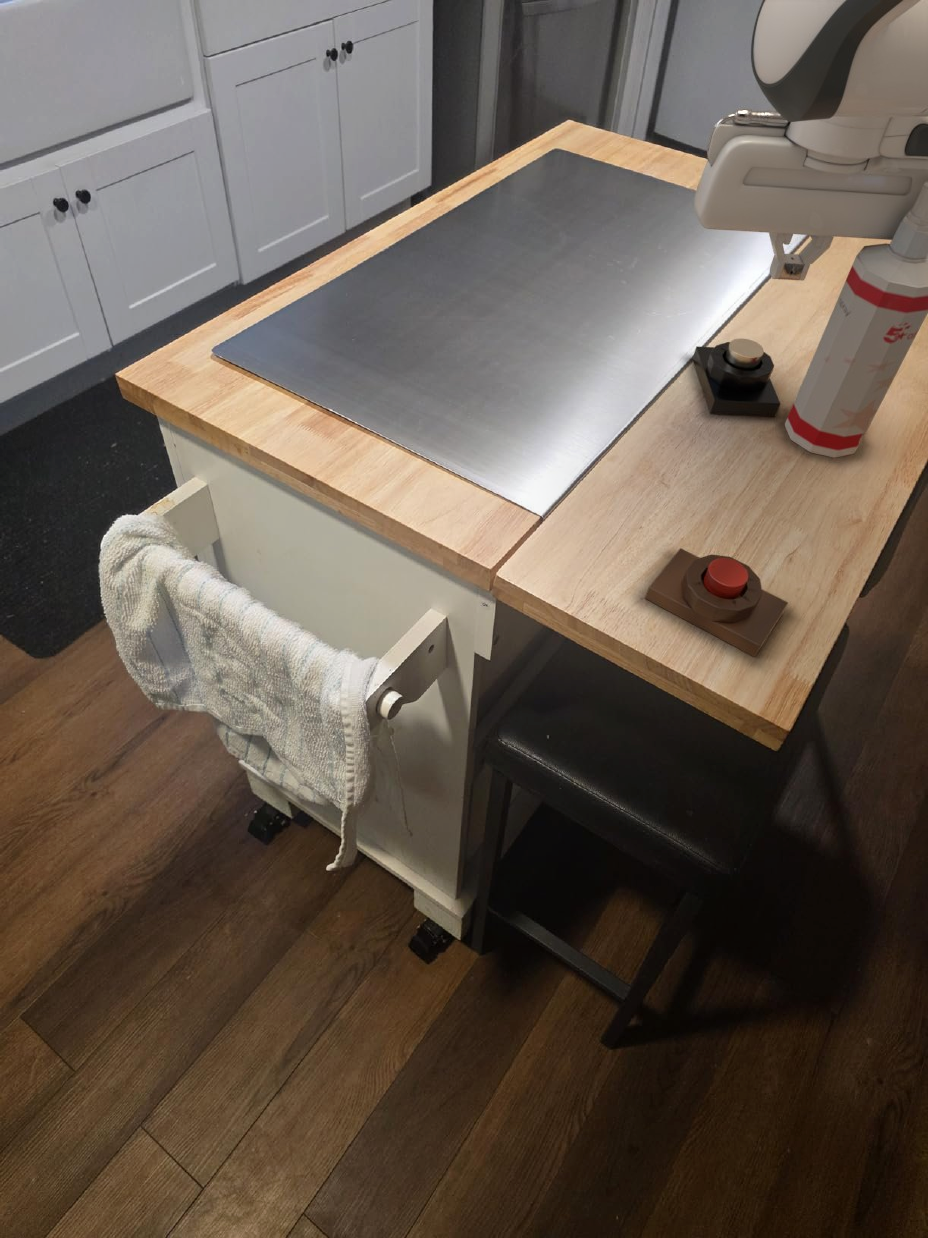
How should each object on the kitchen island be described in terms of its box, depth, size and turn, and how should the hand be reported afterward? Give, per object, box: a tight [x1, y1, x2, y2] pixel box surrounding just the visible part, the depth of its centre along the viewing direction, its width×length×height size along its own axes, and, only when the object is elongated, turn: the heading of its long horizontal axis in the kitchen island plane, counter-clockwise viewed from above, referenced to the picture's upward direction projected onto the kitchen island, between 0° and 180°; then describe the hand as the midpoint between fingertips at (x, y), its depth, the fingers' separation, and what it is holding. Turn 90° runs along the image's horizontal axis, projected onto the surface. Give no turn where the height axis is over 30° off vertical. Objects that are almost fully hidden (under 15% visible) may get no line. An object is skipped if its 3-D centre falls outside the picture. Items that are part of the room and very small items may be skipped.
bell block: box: [644, 547, 789, 657], centre depth 72 cm, size 10×6×3 cm, turn 54°
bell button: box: [704, 558, 748, 599], centre depth 71 cm, size 3×3×2 cm
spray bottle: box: [784, 182, 928, 459], centre depth 81 cm, size 8×8×25 cm
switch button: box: [724, 337, 765, 371], centre depth 91 cm, size 4×4×2 cm
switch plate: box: [691, 341, 781, 418], centre depth 93 cm, size 7×10×4 cm
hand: (785, 276), depth 81 cm, fingers closed
